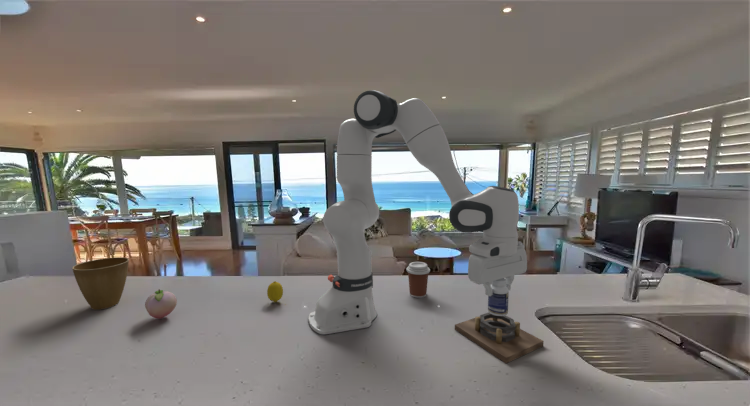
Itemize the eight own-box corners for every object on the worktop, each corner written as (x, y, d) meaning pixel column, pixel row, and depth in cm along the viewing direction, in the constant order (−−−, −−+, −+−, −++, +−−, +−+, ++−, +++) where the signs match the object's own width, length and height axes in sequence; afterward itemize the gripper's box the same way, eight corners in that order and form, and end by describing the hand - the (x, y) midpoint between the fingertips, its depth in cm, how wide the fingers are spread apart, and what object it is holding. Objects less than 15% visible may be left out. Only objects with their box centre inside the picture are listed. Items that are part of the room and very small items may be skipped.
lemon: (264, 304, 106) (263, 283, 105) (274, 298, 111) (273, 277, 110) (276, 306, 104) (275, 285, 103) (286, 300, 109) (285, 279, 108)
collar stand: (506, 363, 72) (506, 344, 72) (454, 329, 88) (454, 313, 87) (543, 346, 79) (544, 328, 79) (489, 317, 95) (489, 302, 94)
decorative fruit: (181, 318, 96) (178, 289, 95) (150, 328, 91) (147, 297, 89) (173, 309, 103) (171, 282, 102) (144, 317, 97) (141, 289, 96)
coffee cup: (433, 292, 115) (433, 263, 114) (424, 301, 107) (424, 269, 106) (412, 288, 120) (412, 259, 118) (402, 296, 112) (402, 265, 111)
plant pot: (75, 319, 96) (69, 272, 95) (79, 304, 107) (74, 262, 106) (133, 305, 106) (129, 263, 104) (132, 293, 117) (128, 254, 115)
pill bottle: (510, 317, 80) (511, 283, 79) (489, 316, 81) (490, 281, 80) (505, 308, 85) (506, 276, 84) (485, 307, 86) (486, 275, 85)
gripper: (514, 238, 88) (512, 282, 90) (464, 246, 79) (463, 295, 80) (534, 242, 83) (531, 289, 84) (483, 252, 73) (481, 305, 75)
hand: (498, 292), depth 82 cm, fingers closed on pill bottle, 5 cm apart
